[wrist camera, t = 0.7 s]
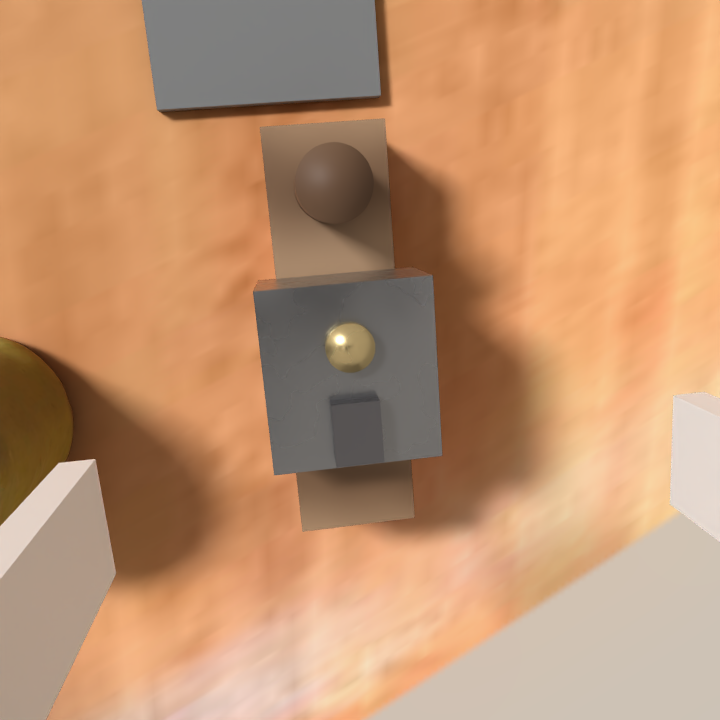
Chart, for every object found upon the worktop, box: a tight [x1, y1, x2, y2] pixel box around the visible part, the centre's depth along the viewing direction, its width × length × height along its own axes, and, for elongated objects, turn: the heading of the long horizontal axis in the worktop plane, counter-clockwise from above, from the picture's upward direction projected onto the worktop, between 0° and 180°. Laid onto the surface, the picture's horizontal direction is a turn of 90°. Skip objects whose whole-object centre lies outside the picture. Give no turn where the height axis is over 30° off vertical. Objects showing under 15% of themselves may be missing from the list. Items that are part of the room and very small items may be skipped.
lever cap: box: [253, 267, 442, 475], centre depth 26 cm, size 7×6×5 cm
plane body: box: [260, 119, 415, 532], centre depth 28 cm, size 17×5×8 cm, turn 4°
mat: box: [142, 0, 381, 112], centre depth 29 cm, size 10×8×1 cm
